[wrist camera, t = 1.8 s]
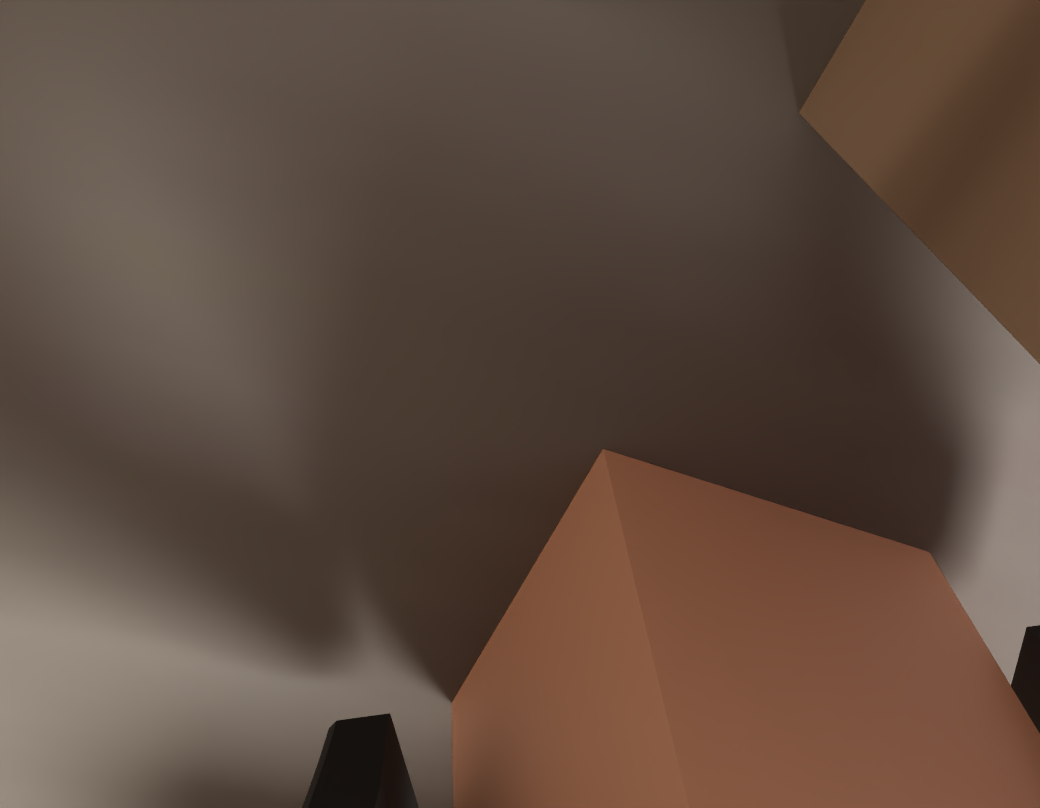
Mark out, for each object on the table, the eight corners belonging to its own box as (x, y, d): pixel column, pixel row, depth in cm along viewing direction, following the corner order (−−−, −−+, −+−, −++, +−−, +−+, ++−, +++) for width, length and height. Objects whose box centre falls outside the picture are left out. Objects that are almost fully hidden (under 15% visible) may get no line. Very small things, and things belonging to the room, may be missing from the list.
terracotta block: (925, 546, 12) (1147, 910, 8) (739, 761, 14) (846, 1124, 10) (601, 444, 11) (692, 819, 7) (451, 698, 13) (458, 1084, 9)
